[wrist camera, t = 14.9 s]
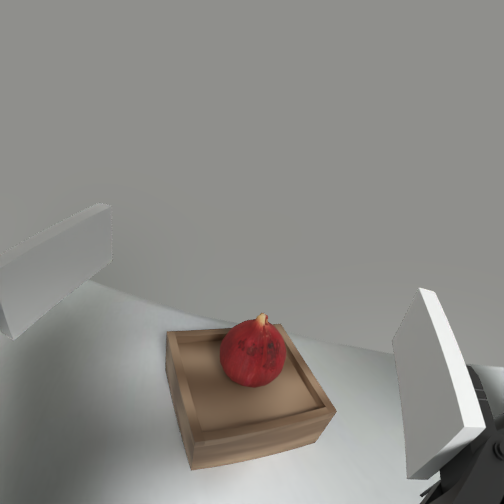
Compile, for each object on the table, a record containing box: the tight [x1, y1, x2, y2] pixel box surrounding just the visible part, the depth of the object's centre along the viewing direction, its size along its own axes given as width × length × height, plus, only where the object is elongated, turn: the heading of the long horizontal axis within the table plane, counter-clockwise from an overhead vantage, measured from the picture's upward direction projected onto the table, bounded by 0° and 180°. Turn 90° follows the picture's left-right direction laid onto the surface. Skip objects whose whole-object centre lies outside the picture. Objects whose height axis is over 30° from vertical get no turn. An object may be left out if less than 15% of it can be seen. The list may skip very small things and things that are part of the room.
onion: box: [220, 313, 286, 388], centre depth 27 cm, size 6×6×8 cm
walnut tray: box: [166, 324, 337, 470], centre depth 30 cm, size 13×13×6 cm
